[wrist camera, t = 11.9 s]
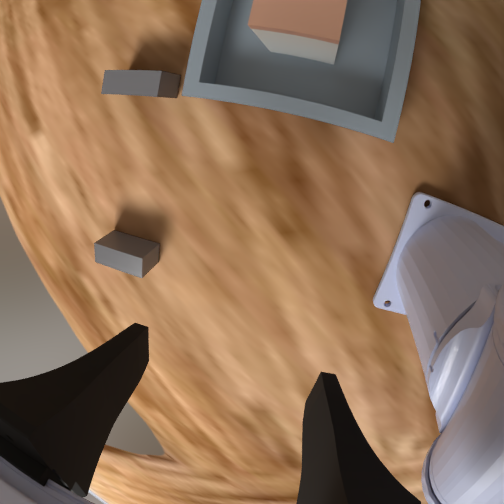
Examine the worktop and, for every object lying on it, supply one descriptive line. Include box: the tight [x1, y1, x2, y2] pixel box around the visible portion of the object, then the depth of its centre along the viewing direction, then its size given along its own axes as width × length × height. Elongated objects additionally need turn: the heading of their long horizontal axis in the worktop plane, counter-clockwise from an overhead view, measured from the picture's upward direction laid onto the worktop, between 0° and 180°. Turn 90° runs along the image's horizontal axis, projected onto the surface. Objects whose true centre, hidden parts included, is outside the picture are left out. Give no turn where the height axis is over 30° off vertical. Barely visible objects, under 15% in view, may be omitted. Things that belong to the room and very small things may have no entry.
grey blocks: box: [94, 70, 181, 278], centre depth 18 cm, size 4×13×2 cm, turn 169°
